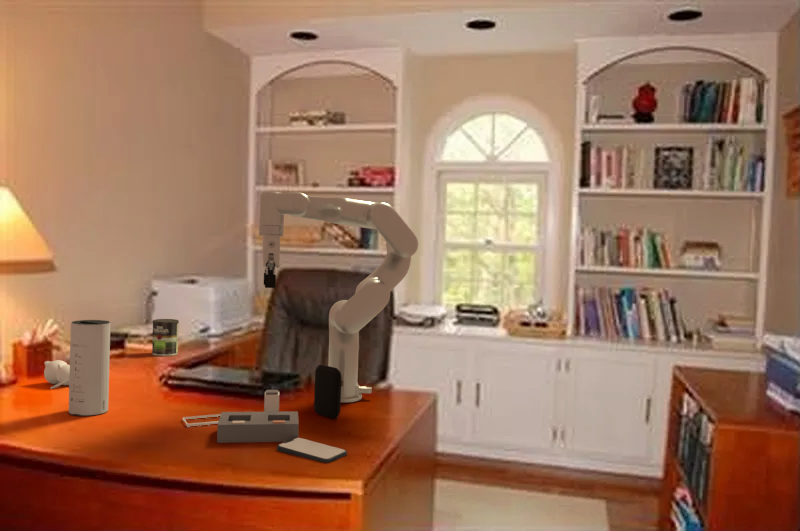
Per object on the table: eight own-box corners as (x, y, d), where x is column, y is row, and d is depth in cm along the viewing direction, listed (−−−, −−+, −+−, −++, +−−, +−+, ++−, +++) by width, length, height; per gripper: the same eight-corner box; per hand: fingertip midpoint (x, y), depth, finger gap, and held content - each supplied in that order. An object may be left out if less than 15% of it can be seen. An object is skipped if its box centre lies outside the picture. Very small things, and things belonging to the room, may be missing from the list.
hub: (297, 427, 185) (297, 410, 184) (298, 441, 173) (298, 422, 173) (221, 428, 181) (221, 410, 181) (217, 442, 169) (217, 423, 169)
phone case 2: (349, 456, 165) (297, 442, 173) (349, 450, 165) (298, 436, 173) (326, 466, 157) (274, 451, 165) (327, 460, 157) (274, 445, 165)
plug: (278, 419, 192) (279, 389, 192) (278, 423, 188) (279, 392, 188) (264, 419, 192) (265, 389, 191) (263, 423, 188) (264, 392, 187)
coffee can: (170, 357, 278) (171, 322, 277) (147, 355, 279) (147, 321, 279) (182, 352, 288) (183, 319, 287) (159, 351, 289) (160, 318, 289)
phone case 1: (236, 417, 195) (181, 422, 188) (236, 412, 195) (182, 417, 188) (242, 423, 188) (186, 429, 181) (242, 419, 188) (186, 424, 181)
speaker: (117, 410, 195) (118, 320, 194) (86, 418, 186) (88, 323, 185) (90, 405, 200) (92, 316, 199) (59, 413, 190) (61, 320, 189)
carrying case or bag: (344, 419, 194) (346, 368, 194) (337, 421, 192) (339, 370, 191) (318, 412, 201) (320, 363, 200) (311, 414, 199) (312, 364, 198)
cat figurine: (76, 358, 221) (53, 352, 227) (50, 380, 214) (26, 373, 219) (88, 378, 226) (65, 372, 232) (62, 400, 218) (39, 393, 224)
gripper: (285, 232, 204) (283, 289, 204) (281, 231, 221) (279, 284, 221) (259, 231, 202) (257, 288, 203) (258, 230, 219) (256, 283, 220)
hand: (269, 286), depth 212 cm, fingers open, 9 cm apart
